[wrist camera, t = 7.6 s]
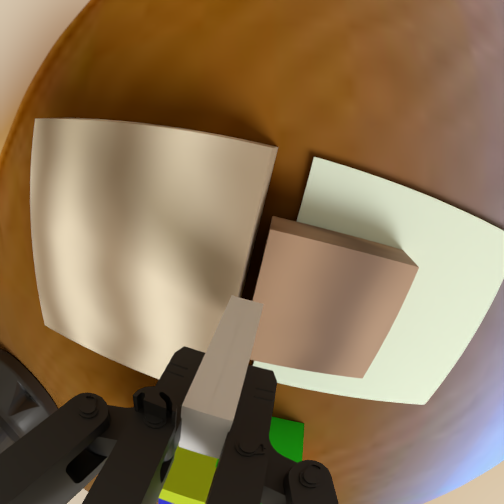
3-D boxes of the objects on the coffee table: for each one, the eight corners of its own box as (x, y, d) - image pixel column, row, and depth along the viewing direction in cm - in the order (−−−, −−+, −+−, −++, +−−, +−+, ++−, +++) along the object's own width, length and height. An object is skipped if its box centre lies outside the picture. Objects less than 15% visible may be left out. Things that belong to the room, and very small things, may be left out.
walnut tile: (243, 332, 19) (238, 357, 17) (272, 215, 16) (270, 229, 14) (356, 353, 19) (362, 378, 16) (402, 249, 16) (419, 267, 13)
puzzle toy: (186, 442, 27) (158, 513, 18) (196, 394, 24) (158, 487, 14) (271, 465, 27) (258, 538, 18) (304, 422, 23) (296, 519, 14)
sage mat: (250, 372, 21) (249, 375, 21) (313, 156, 15) (314, 156, 15) (423, 401, 20) (424, 404, 20) (516, 237, 14) (519, 239, 14)
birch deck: (68, 305, 22) (45, 325, 19) (69, 117, 16) (35, 118, 13) (225, 365, 21) (213, 397, 18) (278, 147, 15) (272, 147, 12)
